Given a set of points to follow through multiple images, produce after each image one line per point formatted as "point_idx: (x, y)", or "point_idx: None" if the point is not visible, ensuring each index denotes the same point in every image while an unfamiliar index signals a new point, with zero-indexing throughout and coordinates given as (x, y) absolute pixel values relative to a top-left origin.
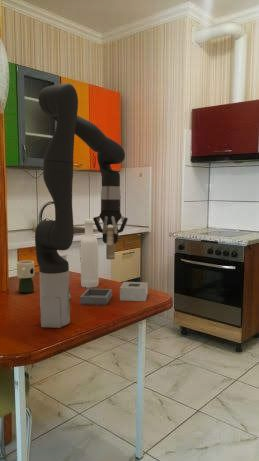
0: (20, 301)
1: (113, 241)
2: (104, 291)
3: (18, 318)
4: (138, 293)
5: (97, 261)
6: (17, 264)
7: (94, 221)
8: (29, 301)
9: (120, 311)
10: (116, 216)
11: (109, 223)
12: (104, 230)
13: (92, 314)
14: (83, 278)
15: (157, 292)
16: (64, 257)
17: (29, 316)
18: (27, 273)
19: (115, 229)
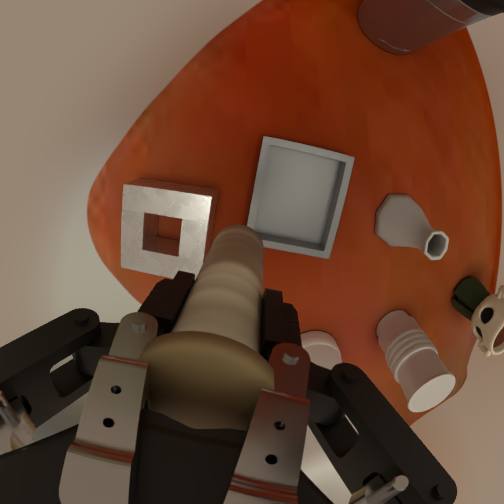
0: (480, 214)
1: (194, 284)
2: (270, 239)
3: (467, 82)
4: (152, 184)
5: None
6: None
7: (433, 461)
8: (465, 210)
9: (219, 80)
10: (42, 496)
11: (200, 441)
12: (285, 368)
13: (304, 61)
14: (336, 352)
15: (113, 268)
16: (418, 382)
17: (452, 87)
18: (494, 300)
19: (131, 348)
